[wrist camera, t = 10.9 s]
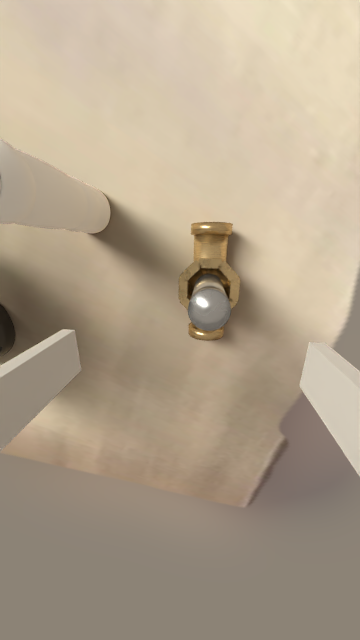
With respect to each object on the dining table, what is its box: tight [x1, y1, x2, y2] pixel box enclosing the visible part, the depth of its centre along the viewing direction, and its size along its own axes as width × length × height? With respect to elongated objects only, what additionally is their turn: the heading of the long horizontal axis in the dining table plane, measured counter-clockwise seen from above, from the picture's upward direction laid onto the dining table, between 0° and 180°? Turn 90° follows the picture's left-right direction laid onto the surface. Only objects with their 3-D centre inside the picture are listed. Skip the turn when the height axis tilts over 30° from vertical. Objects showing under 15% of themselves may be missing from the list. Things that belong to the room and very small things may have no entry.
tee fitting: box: [179, 222, 240, 341], centre depth 33 cm, size 17×8×8 cm, turn 179°
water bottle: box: [0, 139, 111, 233], centre depth 24 cm, size 7×7×25 cm
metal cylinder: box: [188, 273, 231, 331], centre depth 26 cm, size 4×4×12 cm
